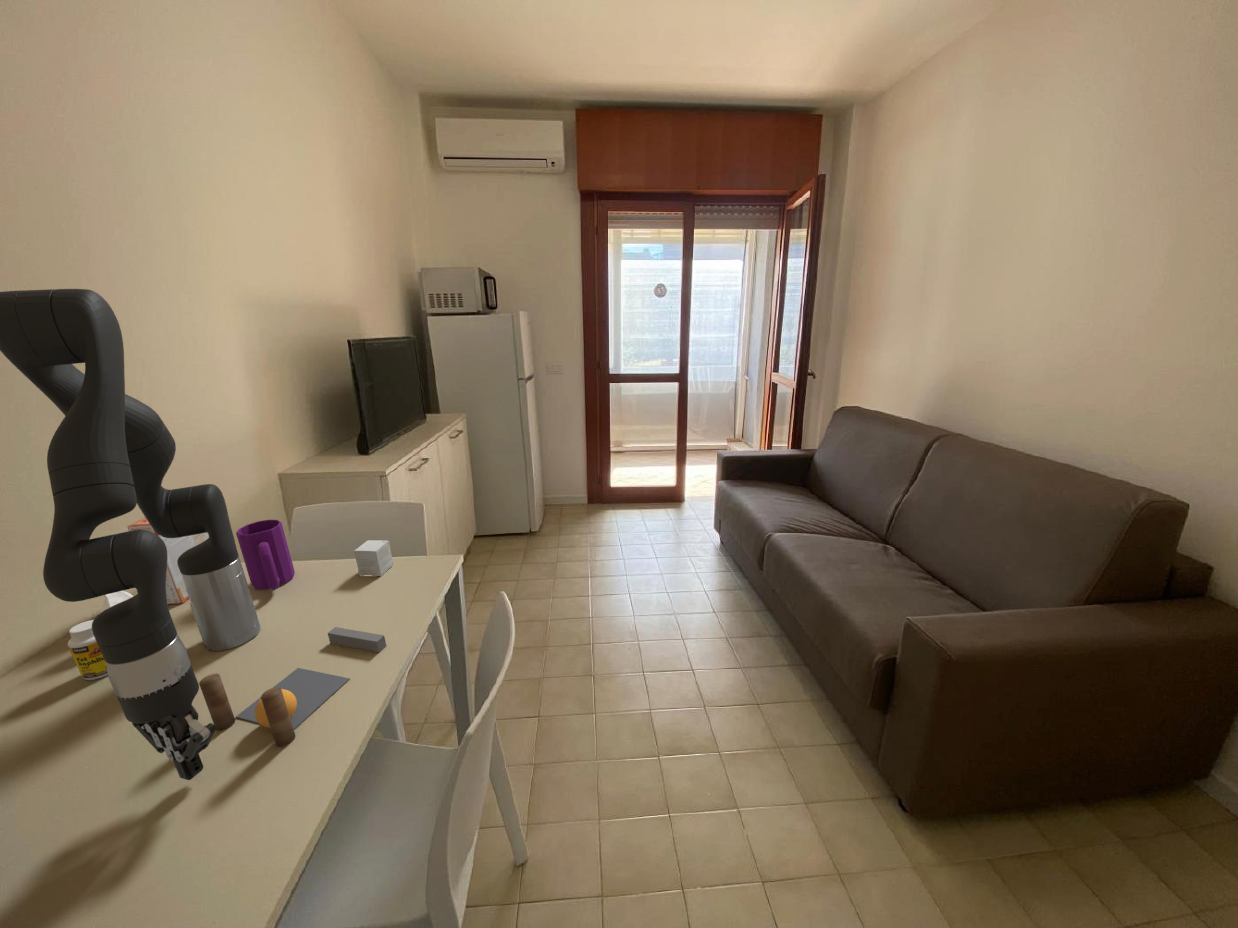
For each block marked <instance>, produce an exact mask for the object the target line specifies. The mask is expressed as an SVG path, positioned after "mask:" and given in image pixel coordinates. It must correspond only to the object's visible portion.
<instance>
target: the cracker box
mask: <svg viewBox="0 0 1238 928" xmlns="http://www.w3.org/2000/svg"><path fill="white" fill-rule="evenodd" d="M126 528H127V531H133V530H148V531H151V532H153V533H155V534H156V535H158V536H159V537H160V538H161V539H162V540H163V541H164V543H165V545H166V548H167V571H166V598H167V604H168V606H169V605H180V604H183V603H185V602H187V601H188V600H190V598H189V595H188V592H187V589H186V587H185V584H184V581H183V578H182V575H181V572H180V570H179V567H178V564H177V560H178V558H179V556H180V555H181V554H183V553H184V552H185V551H187V550H189V549H191V548H193V547H195V546H197V545H199V544H201V543H202V542H204V541H205V540H207V539H208V538H209V535H208V533H201V534H196V535H190V536H184V537H179V538H165V537H162V536H160V535H159V534H158V533H157V532H156V531H155V530H154V529H153V528H152V526H151V525H150V524H149V522H148V521H147V519H146V517H145V516H144V517H143V518H141V519H139V520H137V521H135V522H133V523H131V524H129V525H127V526H126Z"/></svg>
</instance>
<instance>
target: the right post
mask: <svg viewBox="0 0 1238 928" xmlns="http://www.w3.org/2000/svg"><path fill="white" fill-rule="evenodd" d="M260 697H261V700H262V703H263V706H264V709H265V712H266V715H267V718H268V722H269V725H270V727H269V728H270V730H271V734H272V736H273V739H274V743H275V746H277V747H278V748H282V747H285V746H288V745H289V744H291V743H293V742H294V740H295V738H296V733H295V730H294V729H293V726H292V723H291V720H290V716H289V713H288V710H287V706H286V703H285V700H284V696H283V693H282V690H281V688H279V687H275V688H273V687H271V688H269V689H267V690H265V691H264V692H263V693H262V694H261V696H260Z"/></svg>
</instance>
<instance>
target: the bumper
mask: <svg viewBox="0 0 1238 928" xmlns="http://www.w3.org/2000/svg"><path fill="white" fill-rule="evenodd" d="M327 637H328V641H329V643H330V645H331V644H332V645H335V646H337V645H338V646H342V647H346V648H347V647H348V648H354V649H358V650H364V651H370V652H375V653H381V652H382V651H383V650H384V649H385V648H386V647H387V643H386V642H387V641H386V637H385V635H384V634H377V633H372V632H366V631H361V630H355V629H349V628H343V627H337V626H335V627H333V628H332V629H331V630H330V631H328V632H327Z"/></svg>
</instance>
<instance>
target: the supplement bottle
mask: <svg viewBox="0 0 1238 928" xmlns="http://www.w3.org/2000/svg"><path fill="white" fill-rule="evenodd" d="M93 620H94V619H92V620H87V621H83V622H81V623H78V624H75V625H74V626H72V627H71V628H70V629H69V631H68V632H69V634H70V637H71V638H70V639H69V640H68V642H67V647H68V649H69V650H70V653H71V655H72V656H71V657H72V658H73V660H74V663H75V664H76V667H77V669H78V672H79V673H80V676H81V678H82V679H83V680H85V681H95V680H99V679H102V678H104V677H107V676H108V673H107V667H106V663H105V660H104V658H103V655H102V653H101V651H100V648H99V646H98V644H97V642H96V640H95V637H94V635H93V631H92V622H93Z"/></svg>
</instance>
